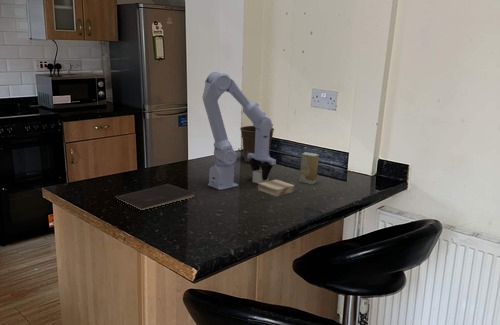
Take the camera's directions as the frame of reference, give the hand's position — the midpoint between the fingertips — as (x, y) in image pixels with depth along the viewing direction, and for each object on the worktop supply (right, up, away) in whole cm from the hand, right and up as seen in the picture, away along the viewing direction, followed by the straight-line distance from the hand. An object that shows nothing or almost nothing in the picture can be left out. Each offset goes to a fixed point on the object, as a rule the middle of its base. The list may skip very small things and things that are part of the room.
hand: (260, 178), depth 183 cm
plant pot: (-1, +7, +35) cm, 36 cm away
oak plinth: (+6, -5, -10) cm, 13 cm away
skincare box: (+20, -2, +3) cm, 20 cm away
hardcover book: (-38, -7, -24) cm, 46 cm away
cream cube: (0, -2, 0) cm, 2 cm away
